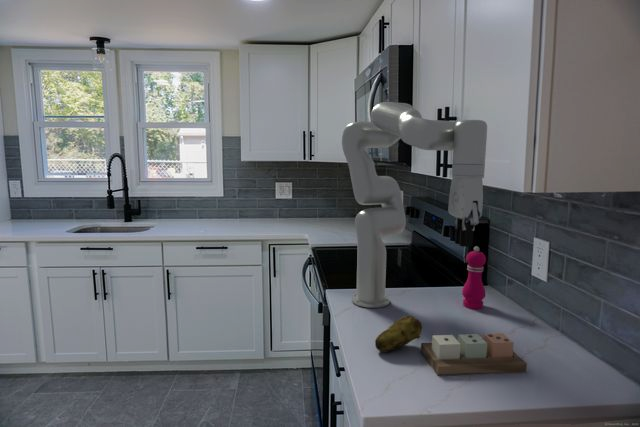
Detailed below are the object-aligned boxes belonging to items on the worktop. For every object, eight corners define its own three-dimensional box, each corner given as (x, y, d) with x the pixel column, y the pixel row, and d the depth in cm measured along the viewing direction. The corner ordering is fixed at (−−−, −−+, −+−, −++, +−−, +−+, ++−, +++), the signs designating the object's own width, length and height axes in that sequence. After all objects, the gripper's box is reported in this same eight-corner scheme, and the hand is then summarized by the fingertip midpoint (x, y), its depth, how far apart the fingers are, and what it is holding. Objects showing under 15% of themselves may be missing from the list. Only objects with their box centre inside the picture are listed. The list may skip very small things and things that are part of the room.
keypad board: (420, 350, 108) (421, 342, 108) (499, 348, 110) (500, 340, 110) (437, 375, 96) (438, 366, 96) (526, 372, 98) (526, 363, 98)
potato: (369, 342, 113) (369, 313, 111) (415, 339, 114) (416, 311, 113) (377, 357, 104) (378, 326, 103) (427, 354, 106) (429, 323, 105)
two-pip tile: (457, 350, 105) (458, 333, 104) (476, 349, 105) (477, 333, 105) (465, 359, 100) (466, 343, 99) (486, 359, 101) (487, 342, 100)
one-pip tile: (431, 350, 104) (432, 334, 104) (451, 350, 105) (452, 334, 104) (438, 360, 100) (439, 343, 99) (459, 360, 100) (460, 343, 99)
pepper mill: (481, 302, 143) (485, 244, 140) (487, 310, 136) (491, 249, 133) (459, 301, 144) (462, 243, 141) (464, 309, 137) (467, 248, 134)
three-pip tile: (482, 349, 106) (483, 333, 105) (501, 348, 106) (502, 332, 105) (492, 358, 101) (493, 342, 100) (512, 358, 101) (513, 341, 100)
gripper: (441, 169, 112) (437, 238, 114) (467, 173, 96) (462, 252, 99) (468, 170, 112) (464, 238, 115) (498, 173, 97) (493, 252, 99)
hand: (463, 244), depth 107 cm, fingers closed
